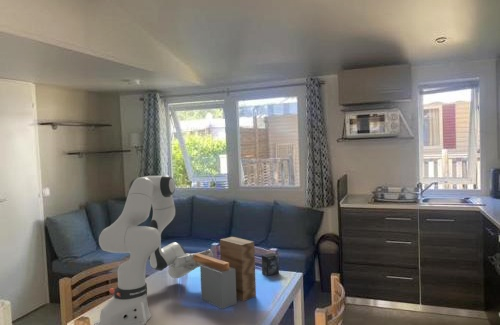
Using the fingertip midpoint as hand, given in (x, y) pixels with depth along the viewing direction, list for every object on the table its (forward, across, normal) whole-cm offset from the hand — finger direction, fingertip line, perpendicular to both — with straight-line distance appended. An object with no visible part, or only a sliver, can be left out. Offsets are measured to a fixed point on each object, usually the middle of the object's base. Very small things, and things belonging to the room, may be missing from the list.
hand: (201, 253), depth 188 cm
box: (-8, +44, +19) cm, 48 cm away
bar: (+5, 0, +7) cm, 9 cm away
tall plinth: (+1, +12, +24) cm, 26 cm away
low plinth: (+1, 0, +24) cm, 24 cm away
